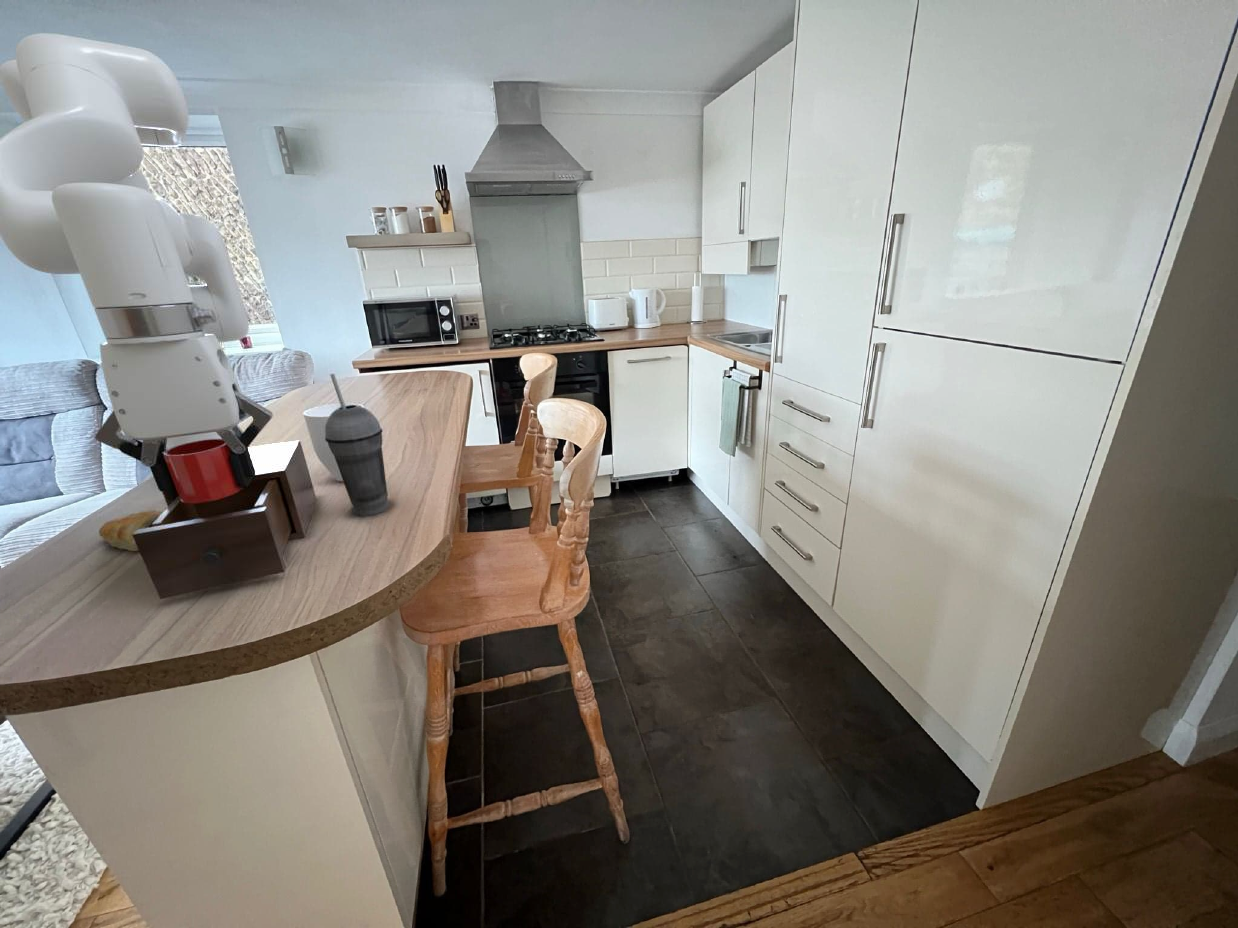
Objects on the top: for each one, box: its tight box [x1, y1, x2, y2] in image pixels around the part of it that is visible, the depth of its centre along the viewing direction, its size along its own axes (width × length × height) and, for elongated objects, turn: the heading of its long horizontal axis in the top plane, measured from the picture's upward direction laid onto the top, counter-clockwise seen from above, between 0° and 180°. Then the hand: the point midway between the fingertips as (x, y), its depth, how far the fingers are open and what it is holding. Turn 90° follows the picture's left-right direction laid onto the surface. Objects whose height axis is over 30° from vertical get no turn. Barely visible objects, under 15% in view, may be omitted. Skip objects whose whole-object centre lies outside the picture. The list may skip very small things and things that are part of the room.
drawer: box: [132, 477, 293, 600], centre depth 59 cm, size 14×11×8 cm
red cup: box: [162, 438, 243, 504], centre depth 56 cm, size 6×6×6 cm
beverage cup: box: [325, 373, 389, 517], centre depth 71 cm, size 7×7×20 cm
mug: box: [302, 402, 365, 482], centre depth 86 cm, size 12×9×12 cm
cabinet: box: [161, 440, 317, 541], centre depth 69 cm, size 14×13×10 cm
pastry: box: [98, 509, 164, 552], centre depth 68 cm, size 9×7×4 cm
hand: (211, 487), depth 57 cm, fingers closed on red cup, 5 cm apart
